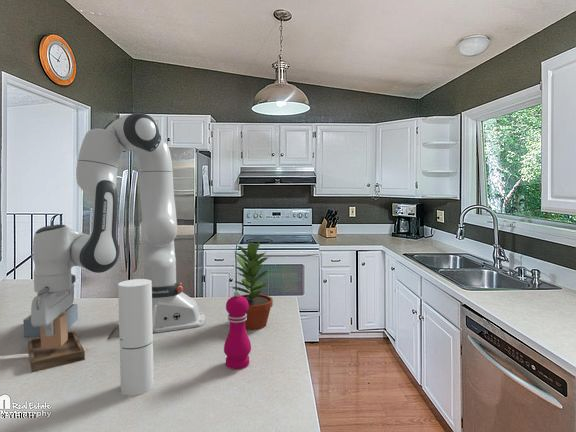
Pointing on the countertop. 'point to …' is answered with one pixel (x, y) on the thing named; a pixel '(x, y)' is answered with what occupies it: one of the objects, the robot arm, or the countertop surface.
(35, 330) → the blue-grey storage bin
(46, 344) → the block
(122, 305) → the cylindrical container
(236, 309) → the pepper mill
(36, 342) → the tray
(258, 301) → the potted plant
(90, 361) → the countertop surface
